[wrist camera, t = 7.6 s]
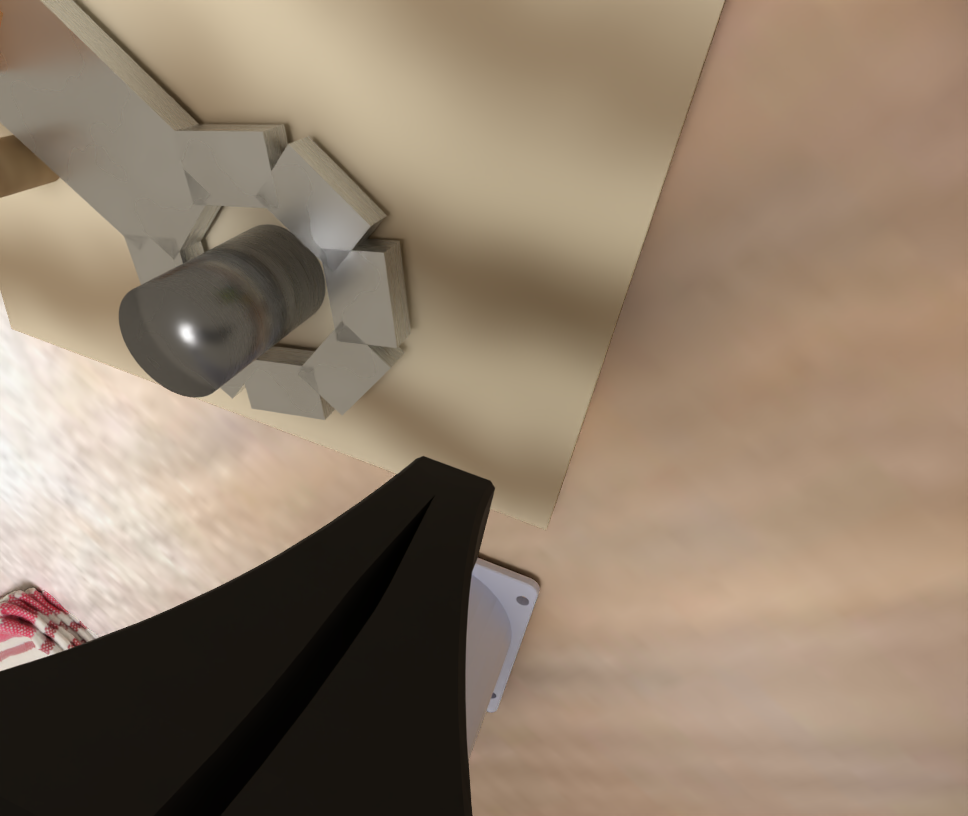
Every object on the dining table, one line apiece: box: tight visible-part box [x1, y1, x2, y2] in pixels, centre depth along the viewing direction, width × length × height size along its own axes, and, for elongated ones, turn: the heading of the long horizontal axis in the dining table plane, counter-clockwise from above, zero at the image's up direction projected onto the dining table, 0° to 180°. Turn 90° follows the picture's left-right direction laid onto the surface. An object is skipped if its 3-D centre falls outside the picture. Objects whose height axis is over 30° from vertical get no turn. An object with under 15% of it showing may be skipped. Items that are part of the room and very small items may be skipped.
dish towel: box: [0, 588, 99, 671], centre depth 47 cm, size 17×23×4 cm
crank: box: [0, 0, 411, 420], centre depth 18 cm, size 17×9×5 cm, turn 49°
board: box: [0, 0, 726, 530], centre depth 20 cm, size 19×23×1 cm
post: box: [119, 224, 325, 398], centre depth 19 cm, size 3×3×5 cm
